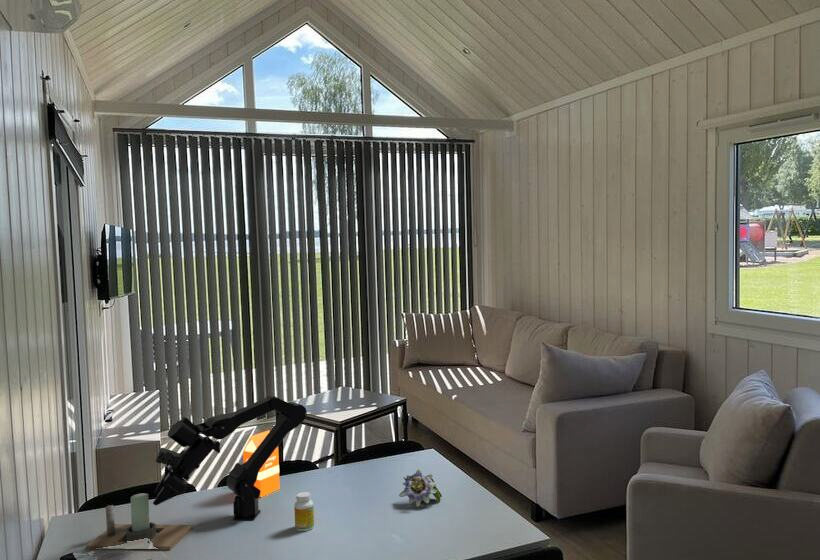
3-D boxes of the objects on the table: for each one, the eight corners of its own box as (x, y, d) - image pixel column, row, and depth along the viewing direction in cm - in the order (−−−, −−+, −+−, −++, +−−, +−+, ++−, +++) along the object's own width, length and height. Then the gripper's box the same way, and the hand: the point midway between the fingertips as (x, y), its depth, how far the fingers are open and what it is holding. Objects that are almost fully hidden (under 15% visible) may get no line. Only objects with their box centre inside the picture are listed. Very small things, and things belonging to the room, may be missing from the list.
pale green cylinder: (153, 534, 180) (151, 493, 180) (144, 542, 176) (143, 499, 175) (137, 534, 181) (135, 493, 180) (129, 541, 176) (127, 499, 176)
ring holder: (193, 528, 184) (191, 497, 184) (170, 550, 170) (168, 517, 170) (114, 527, 186) (113, 497, 186) (86, 549, 172) (84, 516, 172)
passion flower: (418, 523, 195) (395, 496, 193) (416, 504, 206) (394, 477, 203) (448, 503, 194) (425, 475, 192) (444, 485, 205) (423, 458, 202)
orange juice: (280, 489, 213) (278, 431, 213) (261, 498, 206) (258, 437, 205) (263, 486, 218) (261, 428, 217) (244, 494, 210) (241, 434, 210)
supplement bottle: (310, 532, 179) (308, 498, 178) (292, 531, 180) (291, 497, 179) (316, 524, 184) (315, 491, 184) (299, 523, 185) (298, 490, 185)
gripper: (173, 430, 189) (134, 471, 186) (172, 446, 172) (129, 492, 168) (201, 453, 192) (164, 494, 189) (203, 471, 175) (162, 517, 171)
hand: (154, 498), depth 179 cm, fingers open, 9 cm apart
